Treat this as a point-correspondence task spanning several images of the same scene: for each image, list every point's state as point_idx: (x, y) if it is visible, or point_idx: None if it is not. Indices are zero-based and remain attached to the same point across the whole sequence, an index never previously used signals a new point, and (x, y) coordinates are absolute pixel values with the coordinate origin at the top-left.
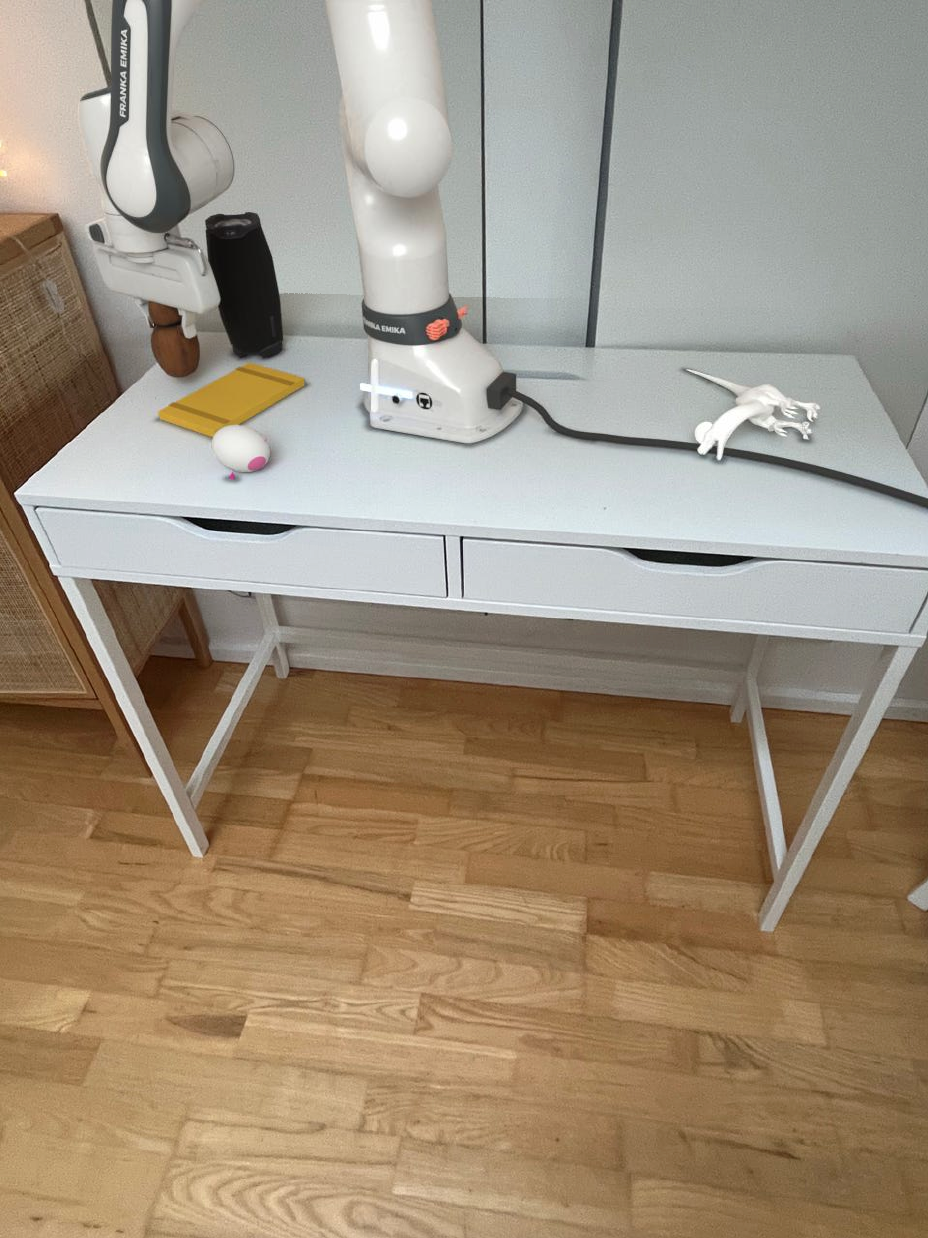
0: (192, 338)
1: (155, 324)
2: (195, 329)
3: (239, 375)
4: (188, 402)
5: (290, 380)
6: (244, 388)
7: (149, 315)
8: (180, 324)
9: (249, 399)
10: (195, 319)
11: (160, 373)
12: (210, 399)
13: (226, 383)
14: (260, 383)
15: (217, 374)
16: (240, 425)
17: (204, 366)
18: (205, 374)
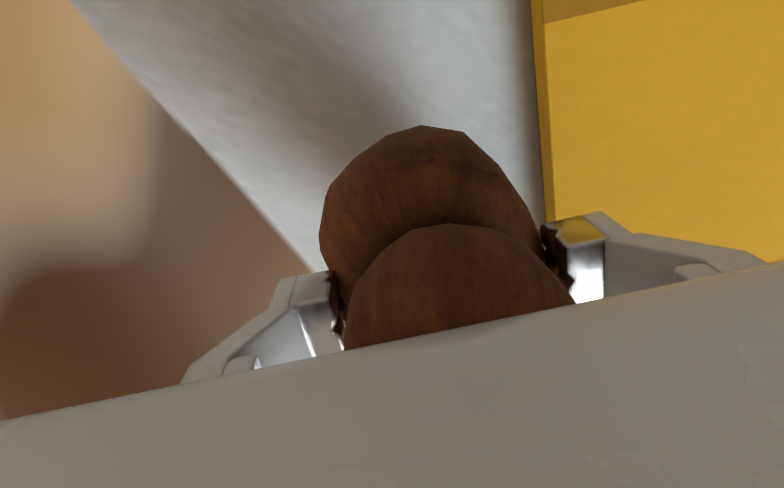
0: (521, 198)
1: (344, 320)
2: (610, 219)
3: (602, 45)
4: None
5: None
6: (701, 100)
7: (308, 355)
8: (576, 298)
9: (773, 137)
10: (666, 237)
11: (275, 207)
12: (647, 226)
13: (607, 123)
14: (731, 27)
15: (444, 65)
16: None
17: (339, 60)
18: (407, 99)
